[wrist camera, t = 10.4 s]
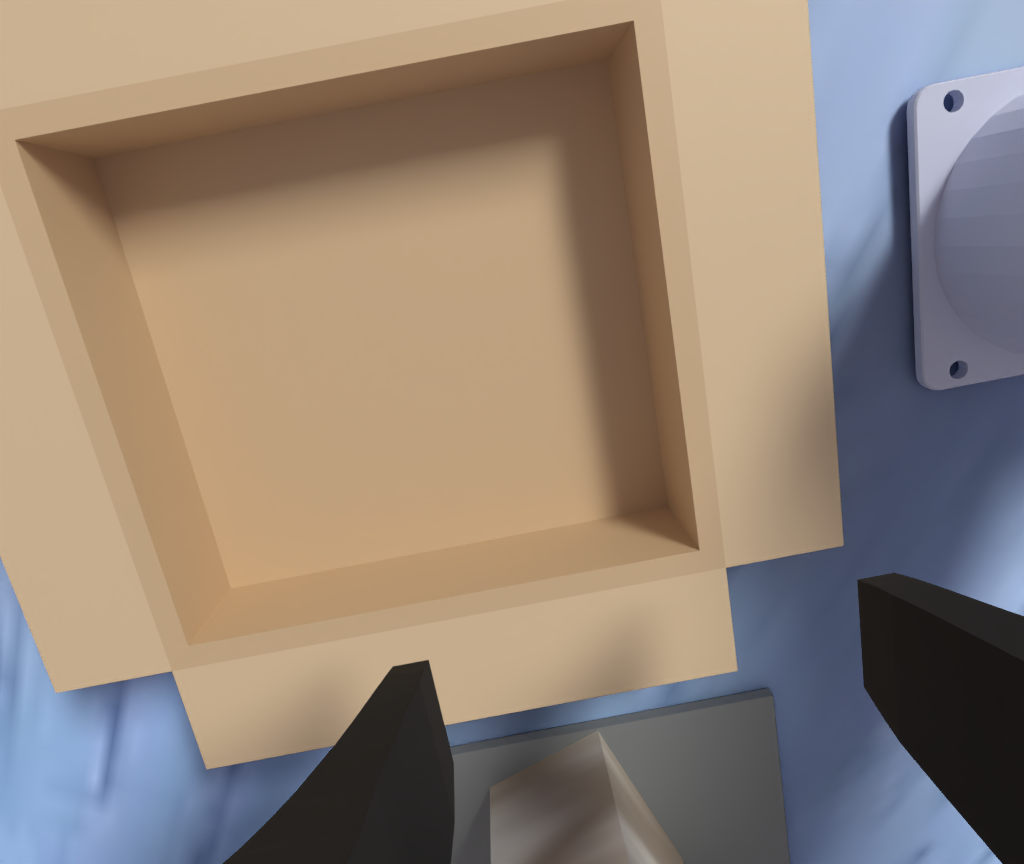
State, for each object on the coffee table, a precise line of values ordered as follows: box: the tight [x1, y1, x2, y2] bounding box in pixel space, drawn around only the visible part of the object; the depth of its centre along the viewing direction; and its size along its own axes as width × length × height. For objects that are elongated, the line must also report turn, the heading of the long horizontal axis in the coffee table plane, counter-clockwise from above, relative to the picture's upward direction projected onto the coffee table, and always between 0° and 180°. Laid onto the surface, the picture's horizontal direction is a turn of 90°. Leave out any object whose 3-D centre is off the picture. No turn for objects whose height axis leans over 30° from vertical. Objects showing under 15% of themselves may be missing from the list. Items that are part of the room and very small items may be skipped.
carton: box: [0, 0, 844, 769], centre depth 18 cm, size 20×19×4 cm
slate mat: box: [450, 688, 790, 864], centre depth 24 cm, size 12×10×1 cm
